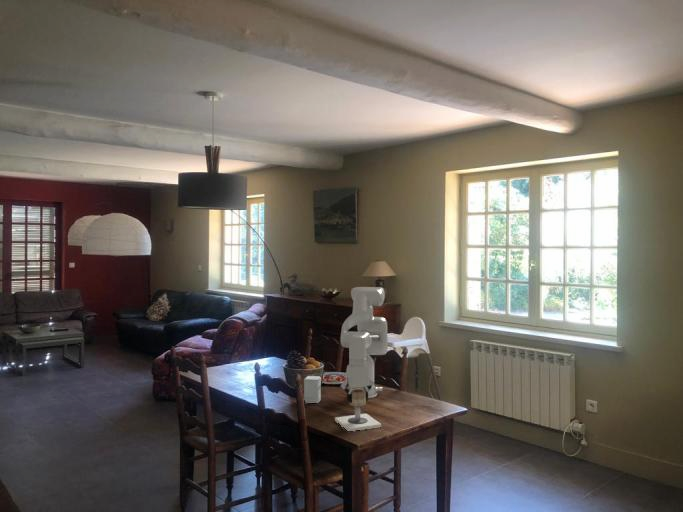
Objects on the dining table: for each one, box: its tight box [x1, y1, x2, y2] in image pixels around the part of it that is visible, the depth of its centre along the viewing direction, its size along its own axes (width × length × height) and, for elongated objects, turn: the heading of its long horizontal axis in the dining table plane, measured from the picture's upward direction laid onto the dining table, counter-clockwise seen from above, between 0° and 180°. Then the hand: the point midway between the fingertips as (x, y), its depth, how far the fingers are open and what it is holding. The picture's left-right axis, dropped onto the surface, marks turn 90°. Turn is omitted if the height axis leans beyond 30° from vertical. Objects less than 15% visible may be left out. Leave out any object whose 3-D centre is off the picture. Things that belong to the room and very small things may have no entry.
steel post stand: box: [334, 406, 382, 432], centre depth 248 cm, size 16×16×8 cm
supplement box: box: [303, 375, 322, 404], centre depth 282 cm, size 7×7×13 cm
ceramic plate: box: [321, 371, 346, 386], centre depth 324 cm, size 26×26×3 cm
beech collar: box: [348, 388, 367, 407], centre depth 248 cm, size 7×7×6 cm
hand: (357, 400), depth 248 cm, fingers closed on beech collar, 7 cm apart
